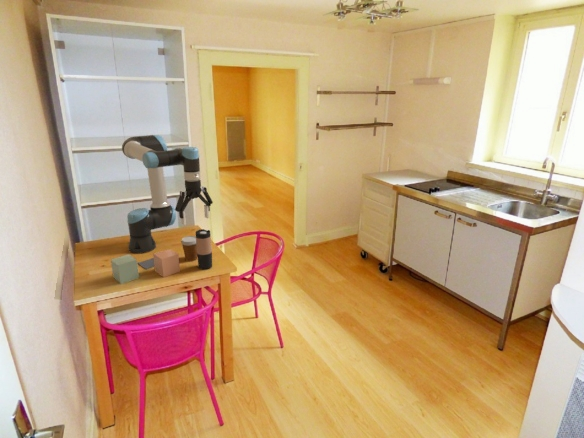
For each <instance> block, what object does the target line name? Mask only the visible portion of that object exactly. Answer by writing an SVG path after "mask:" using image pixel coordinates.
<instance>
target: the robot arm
mask: <svg viewBox="0 0 584 438" xmlns="http://www.w3.org/2000/svg"><path fill="white" fill-rule="evenodd" d="M121 151H122V153H123V155H124V156H126V157H127V158H129V159H132V160H133V159H135V160H138V161H140V162H142V164H143V166H144V167H145V168H146V171H147V175H148V183H149V187H150V188H149V189H150V195H151V202H152V203H151V204H150V205H149V206H150V207H149V208H150V209H148V208H146V207H142V208H136V209H133V210H131V211H129V213H128V214H127V220H126V221H127V225H128V231H129V241H128V246H127V249H128V252H129V253H132V254H145V253H149V252H151V251H153V250H155V249H156V248H157V247H156V246H157V245H156V244H157V243H156V241H155V239H154V237H153V236H152V230H156V229H161V228H165V227H166V228H167V227H169V226H172V225H173V224H175V222H176V217H177V215H176V214H177V213H179V215H178V216H179V218H180V221H181V222H180V223H181V224H182V225H184V226H186V225H187V221H186V220H187V219H186V212H185V210H186V208H187V206H188V204H189V202H190V201H192V200H194V199H198V198H199V200H201V202H202V203H203V204H204V205H203V207H204V211H203V212H204V218H206V219H210V211H211V205H213V203H214V201H213V200H212V198H211V196H210V195H209V193H208V189H207V187H206V186H202V184H201V183H202V181H201V168H200V153H199V149H198V147H197V146H195V147H194V146H186V147H183V148H180V147H179V148H174V149H169V150H168V147H167V143H166V140H165V139H164V138H163V136H162V135H158V134H157V135H156V134H151V135H139V136H131V137H128V138H127V139H125V140H124V141H123V143H122V145H121ZM180 165H181V166H183V177H184V178H183V179H184V188H185V191H184V190H183V191H181V190H180V191H179V197H178V200H177V203H176V206H175V208H174V206H173V205H172V204H171V203H170V202H169V201H168V194H167V188H166V180H165V174H164V167H165V168H166V167H172V166H173V167H174V166H180ZM201 193H202V194H203V195H202V194H201ZM176 212H177V213H176Z"/></svg>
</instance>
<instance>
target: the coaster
mask: <svg viewBox="0 0 584 438" xmlns="http://www.w3.org/2000/svg"><path fill="white" fill-rule="evenodd" d="M137 265H139V266H141V268H143V269H144V270H149V269H152V268H155V265H154V257H152V258H149V259H145V260H143V261H140V262H137Z"/></svg>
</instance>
